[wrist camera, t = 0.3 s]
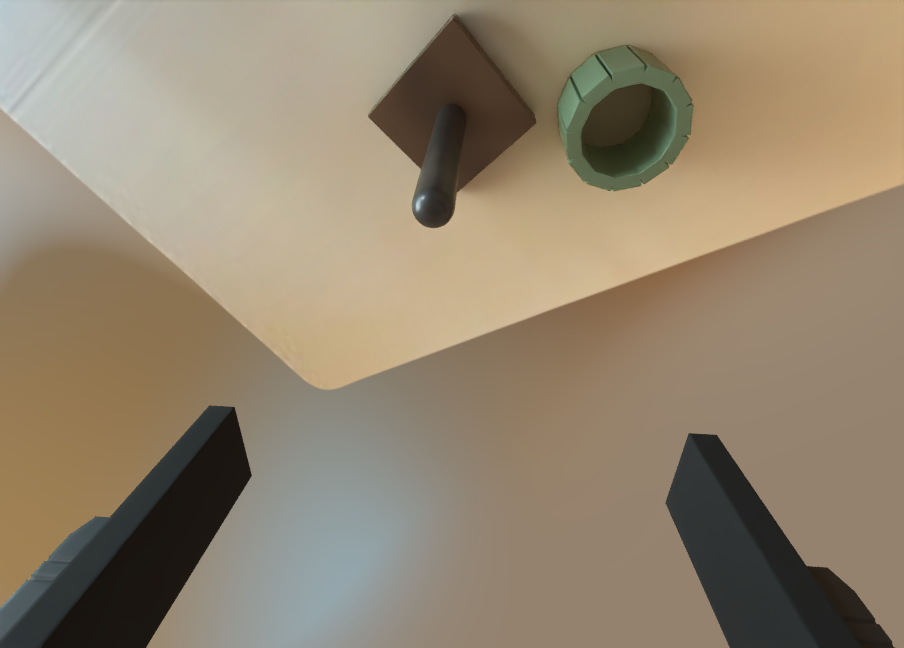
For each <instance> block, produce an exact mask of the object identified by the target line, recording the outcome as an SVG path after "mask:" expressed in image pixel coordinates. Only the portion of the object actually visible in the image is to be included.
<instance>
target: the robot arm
mask: <svg viewBox="0 0 904 648" xmlns="http://www.w3.org/2000/svg"><path fill="white" fill-rule="evenodd" d="M251 476H252V475H251V471H250V467H249V463H248V459H247V455H246V451H245V447H244V443H243V439H242V435H241V431H240V427H239V423H238V419H237V415H236V411H235V407H224V406H209V407H208V408H207V409H206V410H205V411H204V412H203V413H202V415H201V416H200V417H199V418H198V419H197V420H196V421H195V422H194V424H193V425H192V426H191V427H190V428H189V429H188V430H187V431H186V432H185V434H184V435H183V436H182V437H181V438H180V439H179V440H178V442H176V444H175V445H174V446H173V447H172V448H171V449H170V450H169V451H168V453H167V454H166V455H165V456H164V457H163V458H162V459H161V460H160V462H159V463H158V464H157V465H156V466H155V467H154V468H153V469H152V471H151V472H150V473H149V474H148V475H147V476H146V477H145V478H144V479H143V481H142V482H141V483H140V484H139V485H138V486H137V487H136V488H135V490H134V491H133V492H132V493H131V494H130V495H129V496H128V497H127V499H126V500H125V501H124V502H123V503H122V504H121V505H120V507H118V509H117V510H116V511H115V512H114V513H113V514H112V515H111V516H110V517H95V518H93V519H92V520H90V521H89V522H87V523H86V524H84V525H83V526H81V527H80V528H79V529H77V530H76V531H74V532H73V533H71V534H70V535H69V536H68V537H67V538H66V539H65V540H64V541H63V542H62V543H61V544H60V545H59V547H57V549H56V550H55V551H54V552H53V553H52V554H51V555H50V556H49V559H48V561H44V562H43V563H42V564H41V566H40V567H39V568H38V569H37V570H36V571H35V572H34V573H33V574H32V575H31V578H30V579H29V580H26V581H25V582H24V583H23V584H22V585H21V587H20V588H19V589H18V590H17V591H16V592H15V593H14V594H13V595H12V596H11V597H10V598H9V599H8V600H7V601H6V602H5V603H4V604H3V605H2V607H1V608H0V648H146V647H147V645H148V643H149V642H150V640H151V638H152V637H153V635H154V634H155V632H156V630H157V629H158V627H159V625H160V624H161V622H162V620H163V619H164V617H165V616H166V614H167V612H168V611H169V609H170V608H171V606H172V604H173V603H174V601H175V599H176V598H177V596H178V594H179V593H180V591H181V590H182V588H183V586H184V585H185V583H186V582H187V580H188V578H189V576H190V575H191V573H192V572H193V570H194V569H195V567H196V565H197V564H198V562H199V560H200V558H201V557H202V555H203V554H204V552H205V551H206V549H207V547H208V546H209V544H210V542H211V541H212V539H213V538H214V536H215V534H216V533H217V531H218V530H219V528H220V526H221V525H222V523H223V521H224V520H225V518H226V517H227V515H228V513H229V511H230V510H231V508H232V507H233V505H234V504H235V502H236V500H237V499H238V496H240V494H241V492H242V491H243V489H244V487H245V486H246V484H247V483H248V481H249V479H250V478H251ZM666 505H667V507H668V509H669V512H670V514H671V516H672V519H673V521H674V523H675V525H676V528H677V530H678V532H679V534H680V537H681V539H682V541H683V543H684V545H685V548H686V550H687V552H688V554H689V557H690V559H691V561H692V564H693V566H694V568H695V570H696V573H697V575H698V577H699V579H700V581H701V584H702V586H703V588H704V591H705V593H706V595H707V597H708V599H709V602H710V604H711V606H712V609H713V611H714V613H715V615H716V617H717V620H718V622H719V624H720V627H721V629H722V631H723V633H724V636H725V638H726V640H727V642H728V645H729V647H730V648H894V647H893V645H892V641H891V640H890V638H889V637H888V636H887V634H886V633H885V632H884V630H883V629H882V628H881V626H880V625H879V624H876V622H875V618H874V617H873V615H872V614H871V613H870V612H869V610H868V609H867V607H866V606H865V605H864V603H863V602H862V601H861V599H860V598H859V597H858V595H857V594H856V593H855V591H853V590H852V589H851V588H850V587H849V586H848V585H847V584H846V583H844V582H843V581H842V580H841V579H840V578H839V577H838V576H836V575H835V574H834V573H833V572H832V571H831V570H830V569H828V568H823V567H810V566H806V565H805V564H804V562H803V560H802V559H801V557H800V556H799V555H798V553H797V552H796V550H795V549H794V547H793V546H792V544H791V543H790V541H789V540H788V539H787V537H786V536H785V534H784V533H783V531H782V530H781V528H780V527H779V525H778V524H777V523H776V521H775V520H774V518H773V517H772V515H771V514H770V512H769V511H768V509H767V508H766V506H765V505H764V503H763V502H762V500H761V499H760V498H759V496H758V495H757V493H756V492H755V490H754V489H753V487H752V486H751V484H750V483H749V481H748V480H747V479H746V477H745V476H744V474H743V473H742V471H741V470H740V468H739V467H738V465H737V464H736V462H735V461H734V460H733V458H732V457H731V455H730V454H729V452H728V451H727V449H726V448H725V446H724V445H723V443H722V442H721V441H720V439H719V438H718V436H717V435H708V434H690V433H689V434H688V437H687V440H686V443H685V446H684V449H683V452H682V455H681V458H680V461H679V464H678V467H677V470H676V473H675V477H674V479H673V482H672V485H671V488H670V491H669V494H668V497H667V500H666Z"/></svg>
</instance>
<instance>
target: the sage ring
mask: <svg viewBox="0 0 904 648" xmlns="http://www.w3.org/2000/svg"><path fill="white" fill-rule="evenodd" d="M596 57H597V58H596ZM571 76H572V78H570V77H569V78H568V80H567V82H566V85H565V87H564V89H563V92H562V94H561V97H560V99H559V101H558V106H559V107H557V113H558V124H559V132H560V136H561V139H562V142H563V145H564V149H565V152H566V155H567V159H568V161H569V164H570V165H571V166H572V168H573V169H574V170H575V171H576V173H577V174H578V175H579V176H580V178H581V179H582V180H583V181H584V182H585V181H586V183H587V184H589V185H592V186H596V187H599V188H602V189H605V190H608V191H611V189H613V191H617V190H622V189H628V188H633V187H638V186H641V181H642V183H643V184H645V183H647V182H648V181H650V180H651V179H653V178H654V177H656V176H657V175H659V174H660V173H662V172H663V171H664V170H666V169H667V168H669V165H668V164H667V163H669V164H673V162H674V161H675V159H676V158H677V156H678V155H679V153H680V151H681V150H682V148H683V147H684V145H685V144H686V142H687V140H688V139H689V138H688V136H687V135H690V134H691V124H692V114H693V104H692V103H691V102H692V99H691V97H690V95H689V94H688V92H687V90H686V89H685V87H684V85H683V83H682V82H681V80H680V78H679V77H678V76H677V75H676V74H674V73H673V72H672V71H671V70H670V69H669V68H668V67H666V66H665V65H664V64H663V63H662V62H661V61H660V60H658V59H657V58H656V57H655V56H654V55H653V54H651V53H648V52H646V51H643V50H640V49H637V48H635V47H632V46H629V45H628V46H627V47H626V46H625V45H623V46H619V47H615V48H611V49H607V50H603V51H599V52H597V53H596V56H595V55H594V54H593V55H592V56H591V57H589V58H588V59H587V60H586V61H585V62H584V63H583V64H582V65H581V66H579V67H578V68H577V69H576V70H575V71H574V72H573V73H572V74H571ZM640 83H642V84H645V85H648V86H651V87H653V106H652V111H651V112H650V114H649V116H648V118H647V120H646V121H645V123H644V125H643V127H642V129H641V130H640V131H639V132H637V133H636V134H635V135H633V136H632V137H631V138H629V139H628V140H627V141H625V142H624V143H622V144H618V145H613V146H608V147H604V148H601V147H598V146H595V145H592V144H588V143H585V142H583V140H582V137H581V131H582V129H583V127H584V125H585V123H586V121H587V119H588V117H589V114H590V112H591V110H592V108H593V107H594V106H595V105H597V104H598V103H599V102H600V101H601V100H603V99H604V98H605V97H606V96H607V95H609V94H610V93H611V92H612V91H613V90H615V89H619V88H623V87H627V86H631V85H636V84H640Z"/></svg>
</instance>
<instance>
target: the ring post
mask: <svg viewBox="0 0 904 648" xmlns="http://www.w3.org/2000/svg"><path fill="white" fill-rule="evenodd" d="M368 117H369V118H370V119H371V120H372V121H373V122H374V123H375V124H376V125H377V126H378V127H379V128H380V129H381V130H382V131H383V132H384V133H385V134H386V135H387V136H388V137H389V138H390V139H391V140H392V141H393V142H394V143H395V144H396V145H397V146H398V147H399V148H400V149H401V150H402V151H403V152H404V153H405V154H406V155H407V156H408V157H409V158H410V159H411V160H412V161H413V162H414V163H415V164H416V165H418V166H419V167H420V168H421V172H420V176H419V179H418V183H417V186H416V190H415V193H414V197H413V200H412V211H413V214H414V216H415V218H416V219H417V221H418V222H419V223H421V224H422V225H423V226H426V227H429V228H438V227H441V226H444V225H445V224H447V223H448V222H449V221H450V219H451V218H452V216H453V214H454V210H455V202H456V195H457V192H458V191H459V190H460V189H461V188H463V187H464V186H465V185H466V184H467V183H468V182H469V181H471V180H472V179H473V178H474V177H475V176H476V175H477V174H479V173H480V172H481V171H482V170H483V169H484V168H485V167H487V166H488V165H489V164H490V163H491V162H492V161H493V160H495V159H496V158H497V157H498V156H499V155H500V154H501V153H503V152H504V151H505V150H506V149H507V148H508V147H509V146H511V145H512V144H513V143H514V142H515V141H516V140H517V139H519V138H520V137H521V136H522V135H523V134H524V133H525V132H527V131H528V130H529V129H530V128H531V127H532V126H533V125H535V124H536V118H535V115H534V113H533V112H532V111H531V110H530V108H529V107H528V106H527V105H526V103H525V102H524V101H523V99H522V98H521V97H520V96H519V94H518V93H517V92H516V91H515V89H514V88H513V87H512V86H511V84H510V83H509V82H508V81H507V79H506V78H505V77H504V76H503V74H502V73H501V72H500V70H499V69H498V68H497V67H496V65H495V64H494V63H493V62H492V60H491V59H490V58H489V57H488V55H487V54H486V53H485V52H484V50H483V49H482V48H481V47H480V45H479V44H478V43H477V41H476V40H475V39H474V38H473V36H472V35H471V34H470V33H469V31H468V30H467V29H466V28H465V26H464V25H463V24H462V23H461V21H460V20H459V19H458V18H457V16H456V15H455V14H454V15H453V16H452V17H451V18H450V19H449V20H448V21H447V23H446V24H445V25H444V26H443V27H442V28H441V30H440V31H439V32H438V33H437V34H436V35H435V36H434V38H433V39H432V40H431V41H430V42H429V43H428V45H427V46H426V47H425V48H424V49H423V50H422V52H421V53H420V54H419V55H418V56H417V57H416V59H415V60H414V61H413V62H412V63H411V64H410V65H409V67H408V68H407V69H406V70H405V71H404V72H403V74H402V75H401V76H400V77H399V78H398V79H397V81H396V82H395V83H394V84H393V85H392V86H391V88H390V89H389V90H388V91H387V92H386V93H385V95H384V96H383V97H382V98H381V99H380V100H379V101H378V103H377V104H376V105H375V106H374V107H373V108H372V110H371V111H370V113H369V115H368Z"/></svg>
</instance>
